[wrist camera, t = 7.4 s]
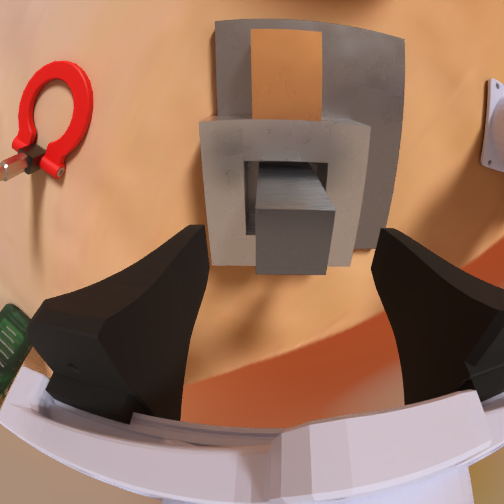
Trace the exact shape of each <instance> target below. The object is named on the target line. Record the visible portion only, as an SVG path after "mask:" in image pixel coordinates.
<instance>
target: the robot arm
mask: <svg viewBox="0 0 504 504" xmlns="http://www.w3.org/2000/svg"><path fill="white" fill-rule="evenodd" d="M496 86H497V87H496ZM488 161H489V163H488ZM481 164H482V165H483V166H485V167H488V168H491V169H494V170H498V171H501V172H504V84H502V83H500V82H499V81H497V80H495V79H493V78H489V80H488V100H487V115H486V125H485V134H484V141H483V148H482V154H481ZM209 268H210V266H209V258H208V250H207V242H206V233H205V225H189V226H187V227H186V228H184V229H183V230H181V231H180V232H179V233H177V234H176V235H175V236H173V237H172V238H171V239H169V240H168V241H167V242H165V243H164V244H163V245H161V246H160V247H158V248H157V249H156V250H154V251H153V252H151V253H150V254H148V255H147V256H145V257H144V258H143V259H141V260H139V261H138V262H136V263H135V264H133V265H131V266H129V267H128V268H126V269H124V270H122V271H120V272H118V273H116V274H114V275H112V276H110V277H108V278H106V279H104V280H102V281H100V282H97V283H95V284H92V285H90V286H88V287H85V288H82V289H79V290H77V291H74V292H71V293H67V294H64V295H60V296H57V297H53V298H50V299H46V300H44V302H43V303H42V305H41V306H40V307H39V309H38V310H37V312H36V313H35V314H34V316H33V317H32V319H31V320H30V322H29V323H28V325H27V334H28V337H29V339H30V342H31V343H32V345H33V346H34V348H35V349H36V351H37V352H38V353H39V355H40V356H41V357H42V358H43V360H44V361H45V362H46V363H47V365H48V366H49V367H50V368H51V369H52V371H53V374H52V376H51V378H48V377H47V376H46V375H44V374H42V373H40V372H38V371H35V370H33V369H31V368H28V367H26V366H22V368H21V370H20V372H19V374H18V376H17V377H16V379H15V381H14V383H13V385H12V387H11V390H10V392H9V394H8V396H7V398H6V400H5V402H4V404H3V407H2V409H1V411H0V423H1V424H2V425H3V426H4V427H6V428H7V429H8V430H10V431H11V432H13V433H14V434H15V435H17V436H18V437H19V438H21V439H22V440H24V441H25V442H27V443H28V444H30V445H32V446H33V447H35V448H36V449H38V450H39V451H41V452H43V453H44V454H46V455H48V456H50V457H52V458H54V459H55V460H57V461H59V462H61V463H63V464H65V465H67V466H69V467H71V468H73V469H75V470H77V471H79V472H82V473H84V474H86V475H88V476H91V477H93V478H95V479H98V480H100V481H103V482H105V483H108V484H110V485H113V486H116V487H119V488H122V489H125V490H128V491H131V492H134V493H137V494H140V495H144V496H147V497H151V498H155V499H159V500H162V504H474V500H473V493H472V486H471V480H470V475H469V469H468V466H470V465H472V464H474V463H476V462H477V461H479V460H481V459H483V458H485V457H486V456H488V455H490V454H492V453H493V452H495V451H497V450H498V449H500V448H501V447H503V446H504V289H502V288H499V287H496V286H494V285H492V284H489V283H487V282H485V281H483V280H480V279H478V278H476V277H474V276H472V275H470V274H468V273H466V272H464V271H463V270H461V269H459V268H457V267H455V266H454V265H452V264H450V263H449V262H447V261H445V260H444V259H442V258H441V257H439V256H437V255H436V254H434V253H433V252H431V251H430V250H428V249H427V248H425V247H424V246H422V245H421V244H419V243H418V242H416V241H415V240H413V239H412V238H410V237H409V236H407V235H405V234H404V233H402V232H400V231H398V230H396V229H394V228H381V229H380V233H379V238H378V242H377V246H376V250H375V254H374V258H373V262H372V266H371V271H372V275H373V279H374V282H375V286H376V289H377V291H378V294H379V296H380V299H381V301H382V304H383V306H384V309H385V311H386V314H387V316H388V319H389V321H390V324H391V326H392V329H393V332H394V336H395V339H396V344H397V348H398V353H399V358H400V364H401V370H402V377H403V387H404V401H405V406H400V407H395V408H390V409H385V410H378V411H372V412H366V413H358V414H351V415H342V416H337V417H332V418H326V419H320V420H313V421H309V422H306V423H303V424H300V425H297V426H294V427H291V428H242V427H225V426H213V425H205V424H195V423H188V422H182V421H180V418H181V403H182V393H183V384H184V376H185V369H186V362H187V356H188V350H189V344H190V339H191V335H192V331H193V327H194V324H195V321H196V318H197V315H198V311H199V308H200V305H201V302H202V299H203V296H204V292H205V289H206V285H207V280H208V274H209Z"/></svg>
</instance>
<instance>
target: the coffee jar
mask: <svg viewBox="0 0 504 504" xmlns="http://www.w3.org/2000/svg"><path fill="white" fill-rule="evenodd" d="M29 322H30V319H29V318H28V316H27V315H26V314H25V313H24V312H22V311H21V310H19V309H18V308H16V307H15V306H13V305H12V304H7V305H5V307H4V308H3V309H2V310H1V312H0V407H1V405H2V403H3V401H4V399H5V396H6V394H7V392H8V390H9V388H10V386H11V384H12V382H13V380H14V378H15V377H16V375H17V373H18V371H19V369H20V367H21V365H22V364H23V362H24V360H25V358H26V357H27V355H28V353H29V352H30V350H31V348H32V347H33V345H32V343H31V342H30V339H29V337H28V334H27V325H28V323H29Z"/></svg>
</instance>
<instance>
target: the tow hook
mask: <svg viewBox="0 0 504 504" xmlns="http://www.w3.org/2000/svg"><path fill="white" fill-rule="evenodd" d="M54 79H60V80H63V81H64V82H65V83H66V84H67V85H68V86H69V88H70V90H71V91H72V95H73V99H74V110H73V116H72V120H71V123H70V125H69V127H68V129H67V131H66V132H65V134H64V135H63V136H62V137H61V138H60V139H58V140H57V141H54V142H51V143H49V144H48V146H47V150H45V149H43V148H42V147H40V146H39V145H37V144H35V143H34V140H35V137H36V129H35V126H34V122H33V107H34V103H35V100H36V97H37V95H38V93H39V91H40V90H41V89H42V88H43V86H44V85H45V84H47V83H48V82H49V81H51V80H54ZM92 110H93V91H92V87H91V83H90V80H89V78H88V77H87V75H86V73H85V71H84V70H83V69H82V68H80V67H79V66H78V65H77V64H75V63H72V62H69V61H54V62H52V63H49V64H47V65H45V66H43V67H42V68H41V69H40V70H38V71H37V72H36V73H35V74H34V76H33V77H32V78H31V79H30V81H29V82H28V84H27V86H26V88H25V90H24V92H23V95H22V98H21V101H20V106H19V114H18V119H19V132H18V135H17V136H16V137H15V139H14V140H13V142H12V148H13V149H14V150H16V151H17V152H18V154H17V155H14V156H12V157H10V158H8V159H5V160H3V161H2V162H1V163H0V181H2V180H3V181H7V180H9V179H11V178H13V177H15V176H17V175H18V174H20V173H22V172H25V173H27V174H28V175H29V174H31V173H33V172H35V171H37V170H39V169H42V170H44V171H45V172H47V173H48V174H50V175H51V176H53V177H54V178H55V179H59V178H60V177H61V176H62V175H63V173H64V171H65V168H66V166H65V164H63V163H64V160H65V157H66V155H67V154H69V153H71V152H72V151H73V150H74V149H75V148H76V147H77V146H78V145H79V144H80V142H81V140H82V139H83V137H84V136H85V134H86V132H87V129H88V126H89V124H90V121H91V116H92Z"/></svg>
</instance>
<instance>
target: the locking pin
mask: <svg viewBox="0 0 504 504" xmlns="http://www.w3.org/2000/svg"><path fill="white" fill-rule="evenodd" d="M335 212H336V210H335V209H334V207H333V205H332V203H331V201H330V199H329V197H328V196H327V194H326V192H325V190H324V188H323V186H322V185H321V183H320V181H319V179H318V178H317V176H316V174H315V172H314V171H313V169H312V167H311V165H310V164H309V162H297V161H259V170H258V182H257V194H256V206H255V235H256V274H273V275H326V270H327V265H328V259H329V253H330V246H331V240H332V233H333V226H334V219H335Z"/></svg>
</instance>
